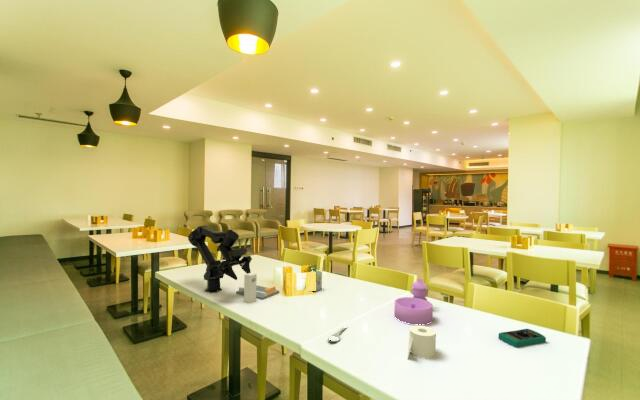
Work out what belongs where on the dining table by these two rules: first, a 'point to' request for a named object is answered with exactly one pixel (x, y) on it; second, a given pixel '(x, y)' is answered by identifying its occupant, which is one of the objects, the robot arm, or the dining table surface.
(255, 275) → the rail module
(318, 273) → the ink box
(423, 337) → the toilet paper
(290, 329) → the dining table surface
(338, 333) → the spoon
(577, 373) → the dining table surface
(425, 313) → the container set
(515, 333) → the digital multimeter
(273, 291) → the rail mount
